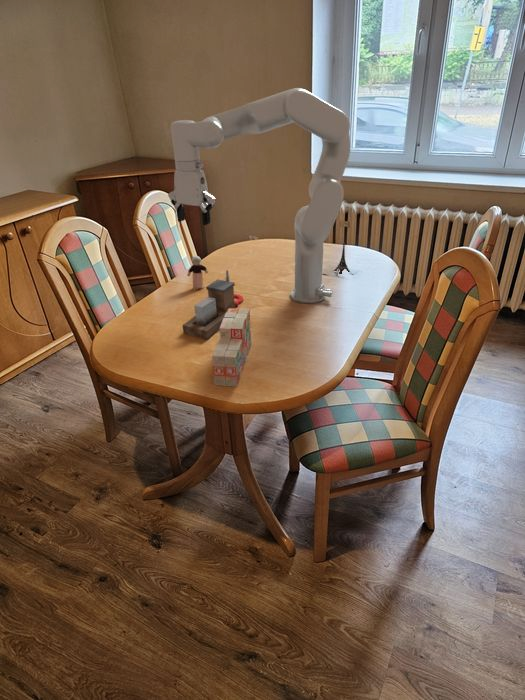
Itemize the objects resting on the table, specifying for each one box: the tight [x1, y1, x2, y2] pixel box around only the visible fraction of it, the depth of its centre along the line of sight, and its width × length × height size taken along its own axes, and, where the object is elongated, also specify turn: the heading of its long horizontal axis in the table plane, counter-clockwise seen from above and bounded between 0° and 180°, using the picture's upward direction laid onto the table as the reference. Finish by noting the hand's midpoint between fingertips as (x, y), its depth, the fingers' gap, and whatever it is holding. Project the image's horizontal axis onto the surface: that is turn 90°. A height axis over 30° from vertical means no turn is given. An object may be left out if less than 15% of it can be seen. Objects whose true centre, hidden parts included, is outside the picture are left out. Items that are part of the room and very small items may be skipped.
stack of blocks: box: [211, 307, 252, 387], centre depth 125 cm, size 21×6×12 cm, turn 172°
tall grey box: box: [193, 296, 217, 327], centre depth 144 cm, size 3×7×9 cm, turn 151°
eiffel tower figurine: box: [333, 243, 351, 274], centre depth 179 cm, size 15×10×13 cm
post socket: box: [182, 278, 236, 341], centre depth 146 cm, size 9×19×11 cm, turn 152°
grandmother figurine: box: [186, 255, 209, 291], centre depth 170 cm, size 8×4×13 cm, turn 117°
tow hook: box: [225, 270, 244, 308], centre depth 159 cm, size 8×13×9 cm
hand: (194, 222), depth 147 cm, fingers open, 9 cm apart
